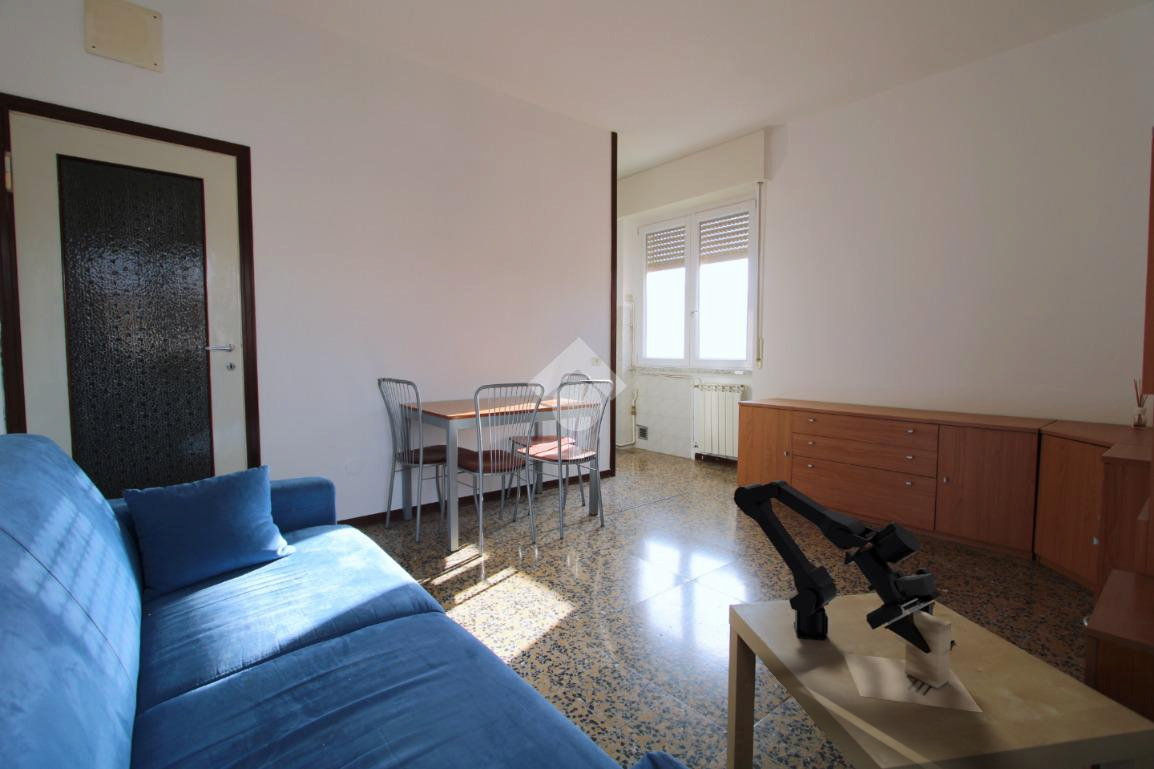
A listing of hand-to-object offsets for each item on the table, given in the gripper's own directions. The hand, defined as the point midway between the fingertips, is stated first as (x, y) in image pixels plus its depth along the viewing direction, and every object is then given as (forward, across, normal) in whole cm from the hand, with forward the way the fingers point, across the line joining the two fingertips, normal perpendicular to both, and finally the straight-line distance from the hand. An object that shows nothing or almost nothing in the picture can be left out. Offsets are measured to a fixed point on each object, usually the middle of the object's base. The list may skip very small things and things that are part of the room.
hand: (935, 648), depth 104 cm
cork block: (+4, 0, +6) cm, 7 cm away
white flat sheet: (+3, -4, +8) cm, 9 cm away
